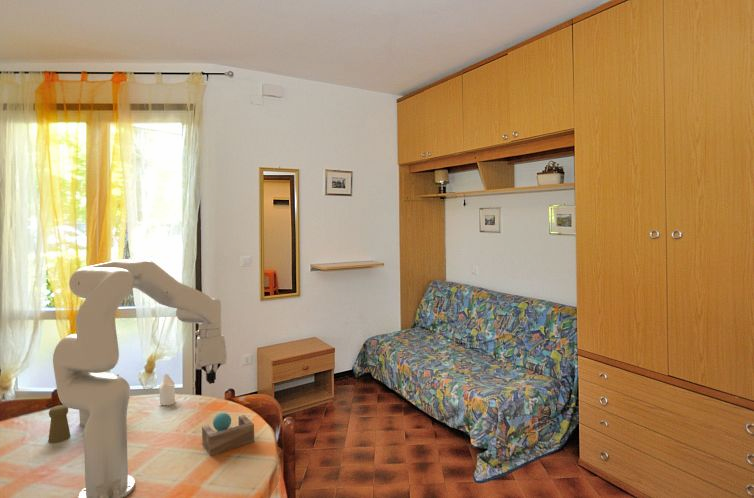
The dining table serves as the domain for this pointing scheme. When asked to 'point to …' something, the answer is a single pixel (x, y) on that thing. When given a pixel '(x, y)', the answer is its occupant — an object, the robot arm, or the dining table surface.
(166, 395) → the white pointed block
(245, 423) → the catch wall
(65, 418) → the cork
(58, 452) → the dining table surface
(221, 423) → the ball
